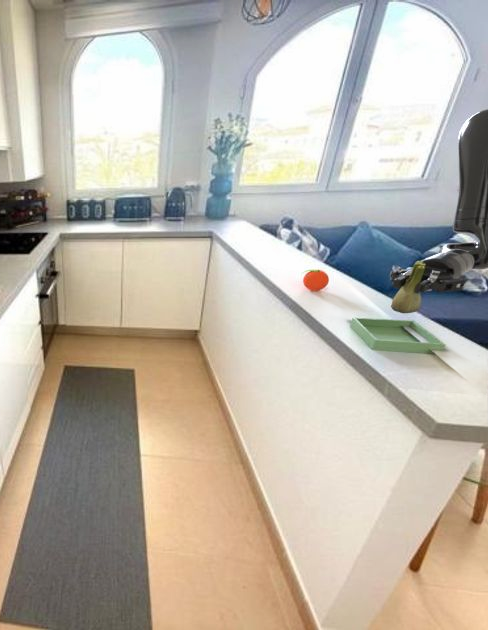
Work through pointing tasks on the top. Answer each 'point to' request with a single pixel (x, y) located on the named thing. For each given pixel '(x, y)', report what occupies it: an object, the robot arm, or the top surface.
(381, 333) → the green tray
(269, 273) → the top surface
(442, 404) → the top surface
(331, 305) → the top surface
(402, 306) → the fennel bulb
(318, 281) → the tomato
